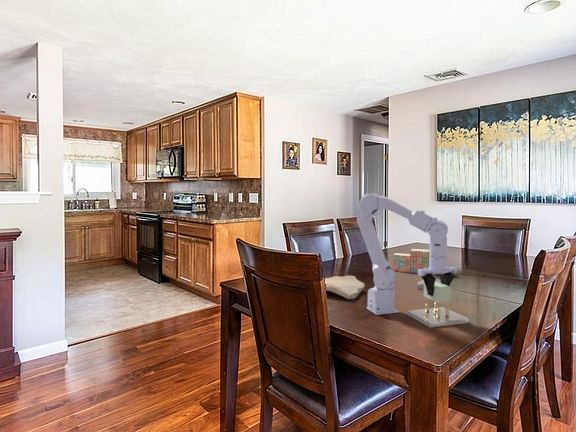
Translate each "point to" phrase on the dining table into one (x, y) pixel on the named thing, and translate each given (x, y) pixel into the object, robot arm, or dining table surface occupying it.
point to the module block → (439, 293)
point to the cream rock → (344, 286)
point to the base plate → (437, 316)
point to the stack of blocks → (411, 261)
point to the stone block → (421, 284)
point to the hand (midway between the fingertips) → (437, 294)
